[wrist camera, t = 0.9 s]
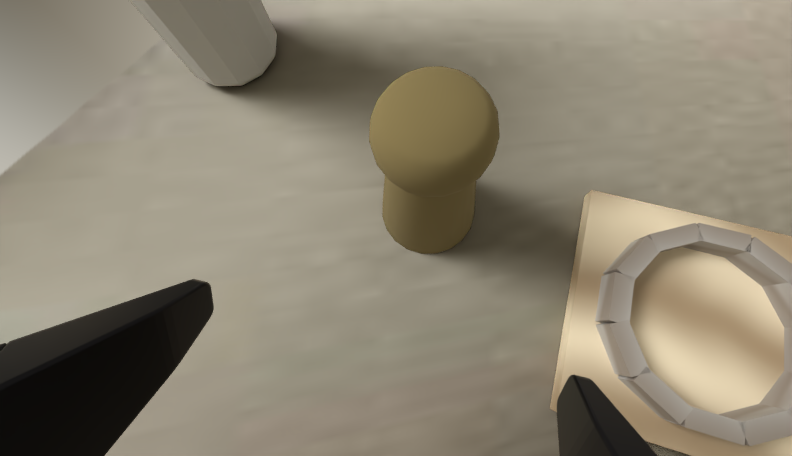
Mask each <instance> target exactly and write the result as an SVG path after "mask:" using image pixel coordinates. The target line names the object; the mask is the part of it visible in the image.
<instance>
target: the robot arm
mask: <svg viewBox="0 0 792 456" xmlns="http://www.w3.org/2000/svg"><path fill="white" fill-rule="evenodd" d="M213 308H214V306H213V299H212V292H211V286H210V284H209V283H207V282H204V281H200V280H196V279H192V280H189V281H186V282H183V283H180V284H177V285H174V286H171V287H168V288H165V289H162V290H159V291H156V292H153V293H150V294H148V295H145V296H142V297H139V298H136V299H133V300H130V301H127V302H124V303H121V304H118V305H115V306H112V307H109V308H106V309H103V310H101V311H98V312H95V313H92V314H89V315H86V316H83V317H80V318H77V319H74V320H71V321H68V322H65V323H62V324H59V325H56V326H54V327H51V328H48V329H45V330H42V331H39V332H36V333H33V334H30V335H27V336H24V337H21V338H18V339H15V340H12V341H10V342H9V343H8V344H6V343H3V344H0V456H105V454H106V453H107V452H108V451H109V449H110V448H111V447H112V446H113V445H114V443H115V442H116V441H117V440H118V438H119V437H120V436H121V435H122V434H123V432H124V431H125V430H126V429H127V428H128V426H129V425H130V424H131V423H132V421H133V420H134V419H135V418H136V417H137V415H138V414H139V413H140V412H141V410H142V409H143V408H144V407H145V406H146V404H147V403H148V402H149V401H150V399H151V398H152V397H153V396H154V395H155V393H156V392H157V391H158V390H159V388H160V387H161V386H162V385H163V384H164V382H165V381H166V380H167V379H168V377H169V376H170V375H171V374H172V372H173V371H174V370H175V369H176V367H177V366H178V364H179V363H180V362H181V360H182V359H183V357H184V356H185V354H186V353H187V351H188V350H189V348H190V347H191V345H192V344H193V342H194V341H195V339H196V338H197V337H198V335H199V334H200V332H201V331H202V329H203V328H204V326H205V325H206V323H207V322H208V320H209V319H210V317H211V315H212V313H213ZM557 422H558V438H559V453H560V456H658V455H657V454H656V453H655V452H654V450H653V449H652V448H651V447H650V446H649V445H648V444H647V442H646V441H645V440H644V439H643V438H642V437H641V436H640V434H639V433H638V432H637V431H636V430H635V429H634V427H633V426H632V425H631V424H630V423H629V422H628V421H627V419H626V418H625V417H624V416H623V415H622V414H621V413H620V411H619V410H618V409H617V408H616V407H615V406H614V404H613V403H612V402H611V401H610V400H609V399H608V398H607V396H606V395H605V394H604V393H603V392H602V391H601V389H600V388H599V387H598V386H597V385H596V384H595V383H594V382H593V381H592V380H591V379H589V378H586V377H582V376H578V375H571V376H569V378H568V379H567V381H566V383H565V385H564V387H563V389H562V391H561V393H560V395H559V397H558V400H557Z"/></svg>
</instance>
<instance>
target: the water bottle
mask: <svg viewBox="0 0 792 456" xmlns="http://www.w3.org/2000/svg"><path fill="white" fill-rule="evenodd" d="M129 1H130V2H131V3H132V4H133V5H134V7H135V8H136V9H137V10H138V11H139V12H140V13H141V15H142V16H143V17H144V18H145V19H146V20H147V21H148V23H149V24H150V25H151V26H152V27H153V28H154V29H155V31H156V32H157V33H158V34H159V35H160V36H161V37H162V39H163V40H164V41H165V42H166V43H167V44H168V45H169V47H170V48H171V49H172V50H173V51H174V52H175V54H176V55H177V56H178V57H179V58H180V59H181V60H182V62H183V63H184V64H185V65H186V66H187V67H188V68H189V70H190V71H191V72H192V73H193V74H194V75H195V76H196V77H197V78H199V79H201V80H203V81H206V82H208V83H210V84H212V85H214V86H240V85H244V84H246V83H248V82H250V81H251V80H253V79H255V78H257V77H259V76H261V75H262V74H263V73H264V71H265V70H266V69H267V67H268V66H269V65H270V63H271V62H272V61H273V59H274V57H275V54H276V41H277V33H276V31H275V29H274V27H273V25H272V23H271V21H270V18H269V16H268V14H267V12H266V10H265V8H264V6H263V4H262V2H261V0H129Z"/></svg>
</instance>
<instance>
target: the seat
mask: <svg viewBox="0 0 792 456" xmlns="http://www.w3.org/2000/svg"><path fill="white" fill-rule="evenodd" d="M571 375H578V376H582V377H586V378H589V379H591V380H592V381H593V382H594V383H595V384H596V385H597V386H598V387H599V388H600V389H601V391H602V392H603V393H604V394H605V395H606V396H607V398H608V399H609V400H610V401H611V402H612V403H613V404H614V406H615V407H616V408H617V409H618V410H619V411H620V413H621V414H622V415H623V416H624V417H625V418H626V419H627V421H628V422H629V423H630V424H631V425H632V426H633V427H634V429H635V430H636V431H637V432H638V433H639V434H640V436H641V437H642V438H643V439H644V440H645V441H647V442H651V443H654V444H657V445H660V446H663V447H666V448H669V449H672V450H675V451H679V452H682V453H685V454H688V455H691V456H792V237H791V236H787V235H783V234H779V233H774V232H770V231H766V230H761V229H757V228H753V227H749V226H744V225H740V224H736V223H731V222H727V221H723V220H719V219H714V218H710V217H706V216H701V215H697V214H693V213H688V212H684V211H680V210H676V209H671V208H667V207H663V206H658V205H654V204H650V203H646V202H641V201H637V200H633V199H628V198H624V197H620V196H616V195H611V194H607V193H603V192H598V191H594V190H591V191H590V192H589V193H588V194H586V195H585V197H584V203H583V209H582V215H581V221H580V228H579V234H578V240H577V246H576V252H575V258H574V264H573V270H572V276H571V282H570V288H569V295H568V301H567V307H566V313H565V319H564V325H563V331H562V337H561V343H560V349H559V355H558V362H557V368H556V374H555V380H554V386H553V392H552V398H551V404H550V409H552V410H553V411H555V412H557V400H558V397H559V395H560V393H561V391H562V389H563V387H564V385H565V383H566V381H567V379H568V378H569V376H571Z"/></svg>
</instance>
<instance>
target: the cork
mask: <svg viewBox="0 0 792 456" xmlns="http://www.w3.org/2000/svg"><path fill="white" fill-rule="evenodd" d="M498 140H499V123H498V111H497V109H496V107H495V105H494V103H493V101H492V99H491V97H490V95H489V94H488V92H487V91H486V90H485V89H484V88H483V87H482V86H481V85H480V84H479V83H478V82H477V81H476V80H475V79H474V78H473V77H471V76H469V75H467V74H465V73H463V72H461V71H460V70H456V69H452V68H447V67H443V66H437V67H423V68H419V69H416V70H413V71H410V72H407V73H406V74H404V75H402V76H401V77H399V78H398V79H396V80H395V81H393V82H392V83H391V84H390V85H389V86H388V87H387V89H386V90H385V91H384V92H383V93H382V95H381V96H380V97H379V98H378V100H377V102H376V105H375V107H374V110H373V112H372V115H371V119H370V133H369V142H370V145H371V148H372V151H373V154H374V157H375V160H376V163H377V165H378V167H379V168H380V169H381V170H382V172H383V173H384V174H385V182H384V194H383V219H384V222H385V226H386V229H387V230H388V232H389V233H390V234H391V236H392V237H393V238H394V240H395V241H396V242H398V243H399V244H401V245H402V246H403V247H405V248H406V249H408V250H412V251H415V252H418V253H421V254H422V253H439V252H442V251H445V250H448V249H451V248H452V247H453V246H455V245H456V244H458V243H459V242H460V241H462V240H463V238H464V237H465V235H466V234H467V233H468V231H469V230H470V228H471V224H472V221H473V217H474V209H475V191H476V180H477V179H478V178H480V177H481V175H482V174H483V173H484V171H485V170H486V168H487V167H488V166H489V164H490V163H491V161H492V159H493V157H494V155H495V151H496V148H497V144H498Z"/></svg>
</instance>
